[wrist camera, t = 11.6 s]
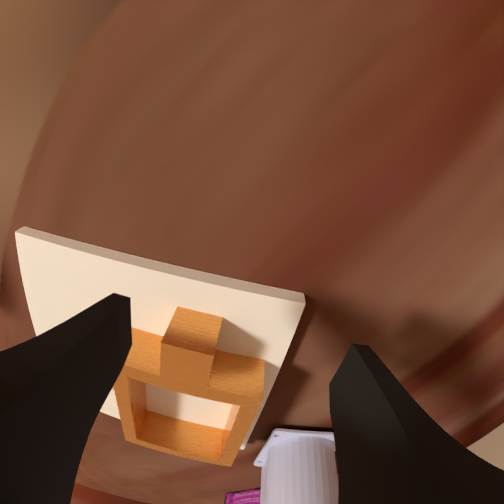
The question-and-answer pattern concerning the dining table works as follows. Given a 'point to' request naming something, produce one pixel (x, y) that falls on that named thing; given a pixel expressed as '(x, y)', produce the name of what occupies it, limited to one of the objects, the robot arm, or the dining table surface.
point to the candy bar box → (243, 497)
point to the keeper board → (159, 309)
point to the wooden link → (188, 388)
